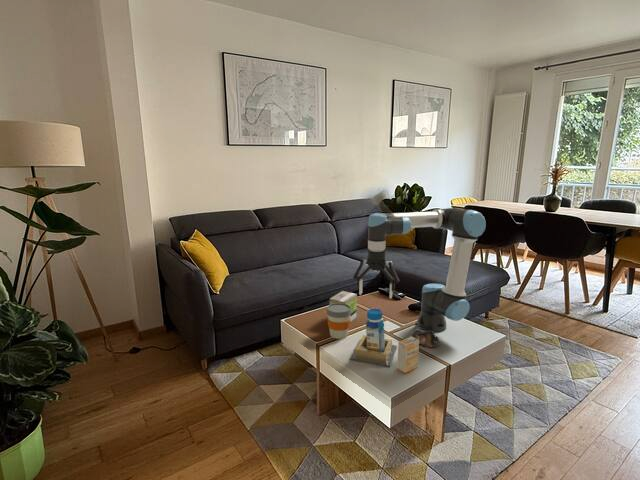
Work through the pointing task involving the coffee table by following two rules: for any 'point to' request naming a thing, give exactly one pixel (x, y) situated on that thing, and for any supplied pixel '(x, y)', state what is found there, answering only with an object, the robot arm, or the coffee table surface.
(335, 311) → the reusable coffee cup
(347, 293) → the tea box
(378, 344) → the beverage bottle
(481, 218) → the robot arm
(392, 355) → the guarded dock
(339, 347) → the coffee table surface
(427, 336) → the bison figurine
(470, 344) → the coffee table surface
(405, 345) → the supplement box
